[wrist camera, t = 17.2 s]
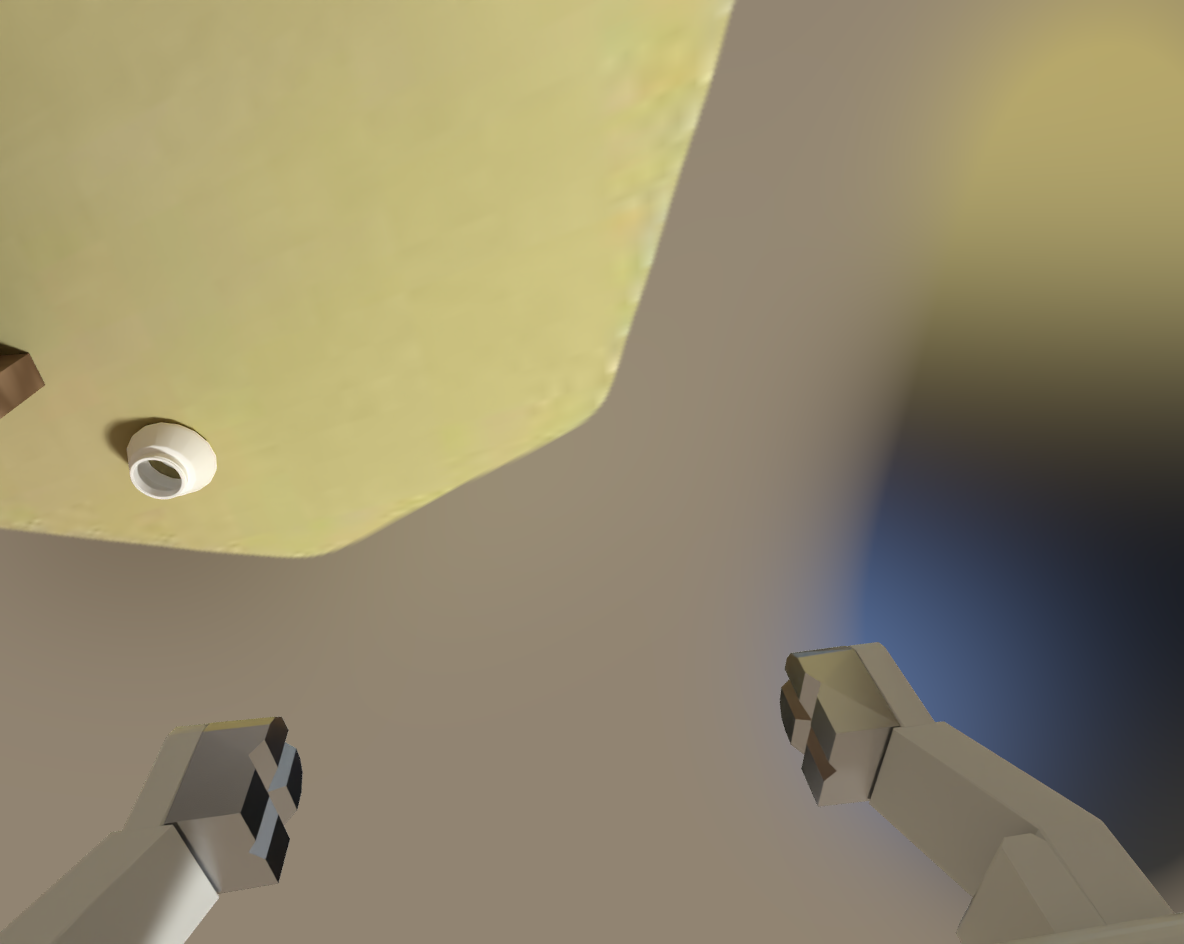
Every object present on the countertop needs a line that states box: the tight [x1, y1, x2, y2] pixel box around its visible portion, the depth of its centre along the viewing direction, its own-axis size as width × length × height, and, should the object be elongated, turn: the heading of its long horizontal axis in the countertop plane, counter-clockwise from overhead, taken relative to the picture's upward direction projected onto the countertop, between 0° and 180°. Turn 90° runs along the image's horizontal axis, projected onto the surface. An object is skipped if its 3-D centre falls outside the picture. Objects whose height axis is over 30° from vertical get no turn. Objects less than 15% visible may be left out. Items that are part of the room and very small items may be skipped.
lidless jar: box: [127, 422, 217, 499], centre depth 42 cm, size 5×3×5 cm
